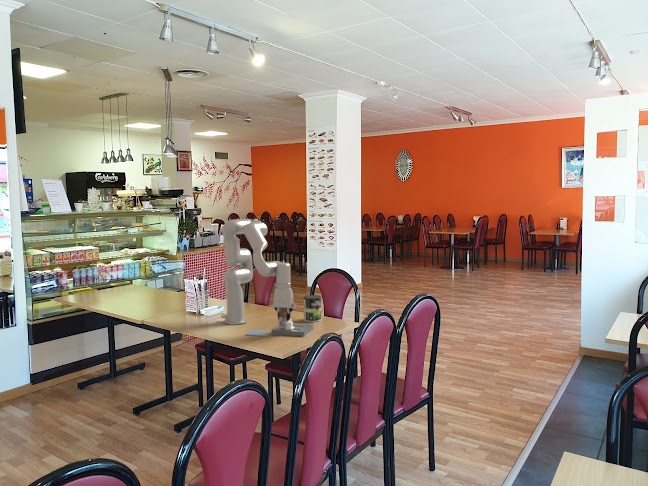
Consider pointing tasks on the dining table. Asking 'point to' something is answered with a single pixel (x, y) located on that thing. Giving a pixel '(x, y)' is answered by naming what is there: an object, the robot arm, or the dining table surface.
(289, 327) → the tab
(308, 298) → the coffee can
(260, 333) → the mat
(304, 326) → the switch panel
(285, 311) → the brown grey cylinder
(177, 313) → the dining table surface
